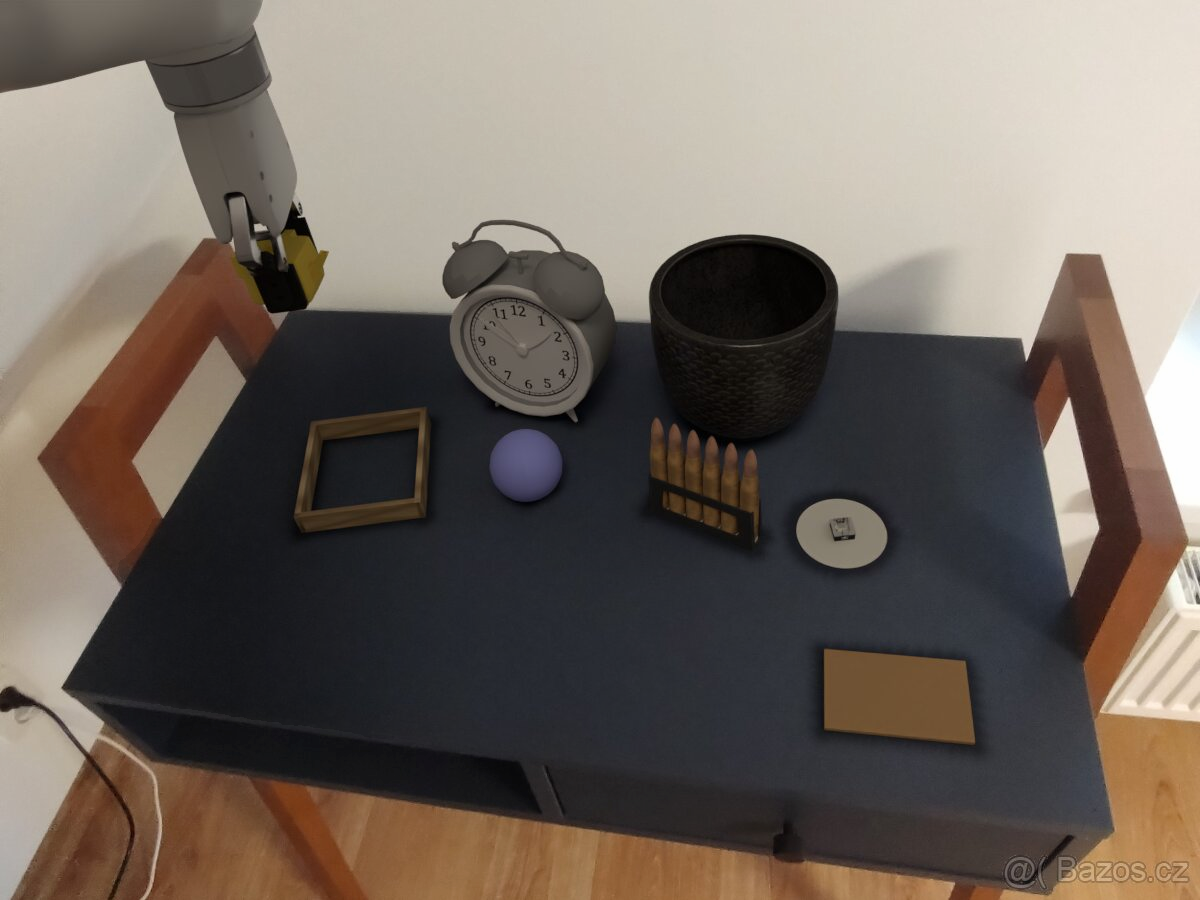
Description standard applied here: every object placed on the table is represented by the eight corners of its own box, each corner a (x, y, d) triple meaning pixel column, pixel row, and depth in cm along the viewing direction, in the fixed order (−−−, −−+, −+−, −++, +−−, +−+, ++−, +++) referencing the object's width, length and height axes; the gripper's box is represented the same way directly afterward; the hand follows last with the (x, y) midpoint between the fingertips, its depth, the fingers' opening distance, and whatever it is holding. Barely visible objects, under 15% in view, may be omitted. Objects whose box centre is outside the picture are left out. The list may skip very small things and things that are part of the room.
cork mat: (974, 745, 70) (975, 742, 70) (823, 730, 72) (824, 727, 72) (964, 663, 75) (965, 660, 74) (823, 651, 77) (823, 648, 76)
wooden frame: (425, 517, 91) (420, 501, 89) (301, 533, 91) (293, 517, 89) (431, 422, 100) (426, 406, 98) (318, 437, 100) (311, 421, 98)
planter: (818, 483, 89) (832, 355, 78) (641, 463, 93) (630, 339, 81) (831, 364, 100) (845, 237, 89) (673, 351, 104) (666, 228, 93)
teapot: (352, 269, 79) (335, 215, 76) (334, 311, 75) (314, 256, 72) (263, 271, 80) (241, 219, 77) (240, 313, 76) (215, 260, 73)
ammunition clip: (649, 511, 89) (641, 421, 80) (658, 497, 90) (651, 407, 81) (753, 551, 84) (757, 461, 76) (762, 536, 85) (766, 446, 77)
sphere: (505, 461, 95) (493, 411, 90) (572, 465, 94) (564, 415, 89) (488, 514, 90) (474, 465, 85) (559, 519, 89) (549, 470, 84)
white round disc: (806, 572, 82) (807, 563, 81) (788, 503, 88) (789, 494, 87) (897, 563, 82) (899, 554, 81) (874, 494, 87) (875, 485, 86)
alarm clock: (460, 410, 101) (411, 237, 85) (494, 359, 106) (454, 187, 90) (602, 439, 96) (578, 261, 80) (630, 384, 101) (613, 206, 85)
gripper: (184, 28, 71) (267, 234, 83) (122, 135, 58) (230, 357, 71) (283, 15, 71) (350, 223, 83) (241, 119, 58) (327, 344, 71)
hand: (294, 283), depth 77 cm, fingers closed on teapot, 6 cm apart
